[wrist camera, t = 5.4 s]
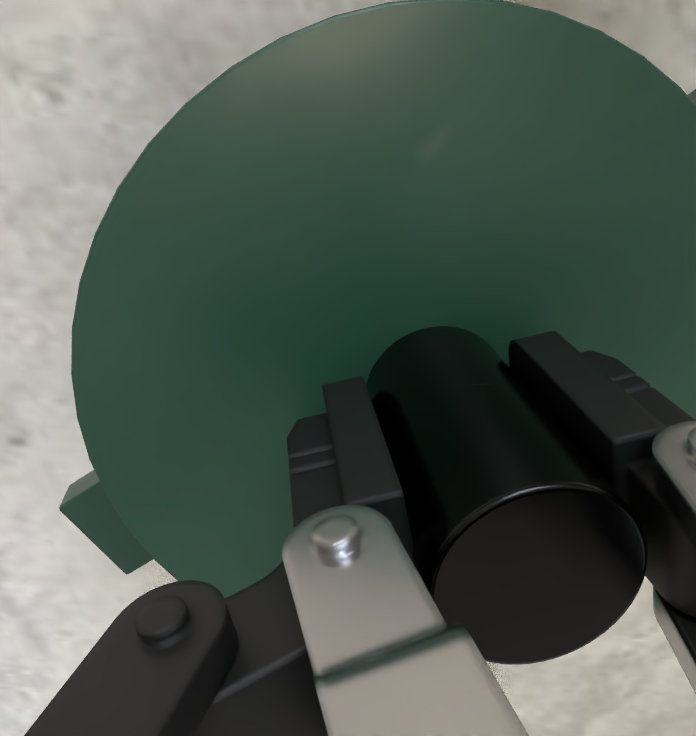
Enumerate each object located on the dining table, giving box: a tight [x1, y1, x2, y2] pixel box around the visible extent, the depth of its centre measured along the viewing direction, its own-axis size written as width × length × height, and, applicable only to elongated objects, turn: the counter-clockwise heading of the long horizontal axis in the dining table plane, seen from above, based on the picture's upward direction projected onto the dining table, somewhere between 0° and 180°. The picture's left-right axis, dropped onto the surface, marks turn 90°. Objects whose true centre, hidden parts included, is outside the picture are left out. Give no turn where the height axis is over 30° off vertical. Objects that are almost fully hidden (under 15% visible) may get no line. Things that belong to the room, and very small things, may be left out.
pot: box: [59, 90, 696, 574], centre depth 19 cm, size 12×17×10 cm
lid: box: [71, 0, 696, 664], centre depth 10 cm, size 13×13×6 cm
